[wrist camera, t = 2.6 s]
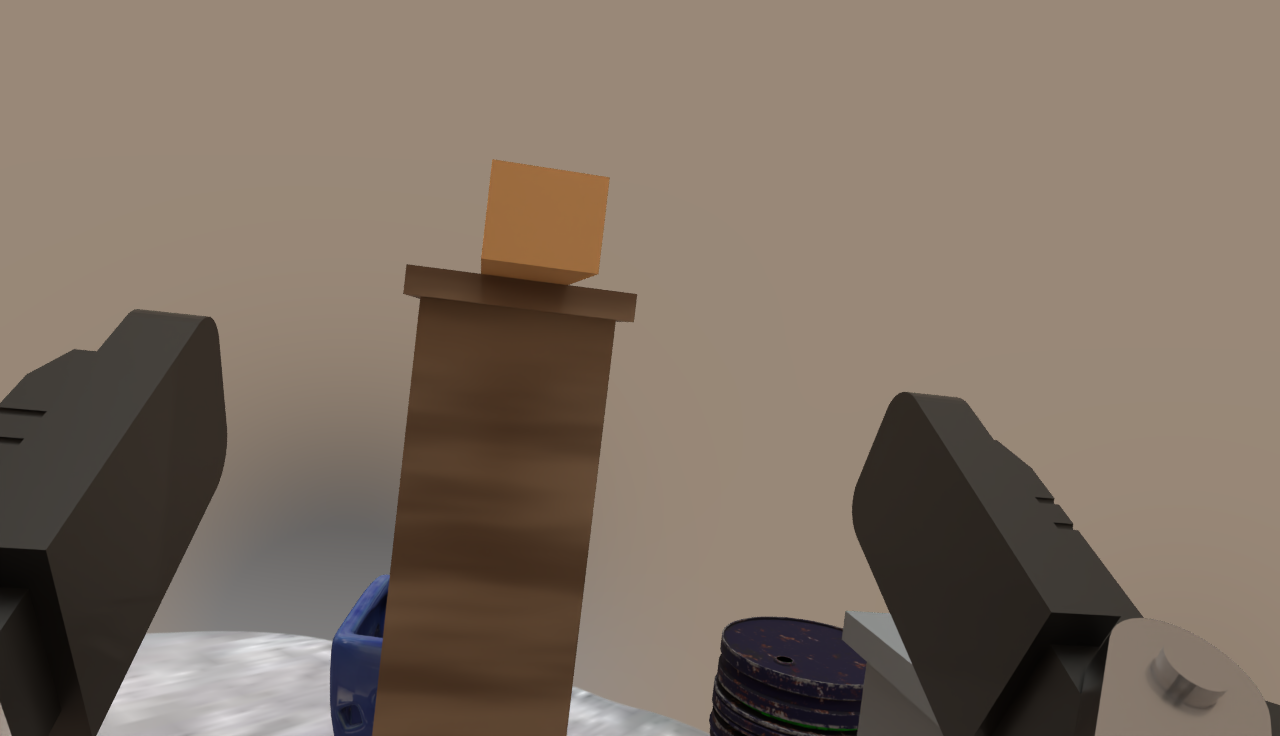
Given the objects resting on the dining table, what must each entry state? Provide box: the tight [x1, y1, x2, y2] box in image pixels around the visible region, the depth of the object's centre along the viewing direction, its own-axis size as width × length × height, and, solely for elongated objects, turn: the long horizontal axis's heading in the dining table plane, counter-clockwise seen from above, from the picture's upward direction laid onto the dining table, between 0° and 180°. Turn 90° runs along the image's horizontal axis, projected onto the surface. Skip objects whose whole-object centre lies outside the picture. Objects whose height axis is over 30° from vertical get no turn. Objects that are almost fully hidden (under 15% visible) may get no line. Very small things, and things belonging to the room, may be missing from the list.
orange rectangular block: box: [481, 160, 610, 285], centre depth 33 cm, size 22×3×2 cm, turn 10°
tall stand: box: [372, 264, 637, 736], centre depth 36 cm, size 12×10×32 cm
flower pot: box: [330, 575, 390, 736], centre depth 55 cm, size 13×13×12 cm
